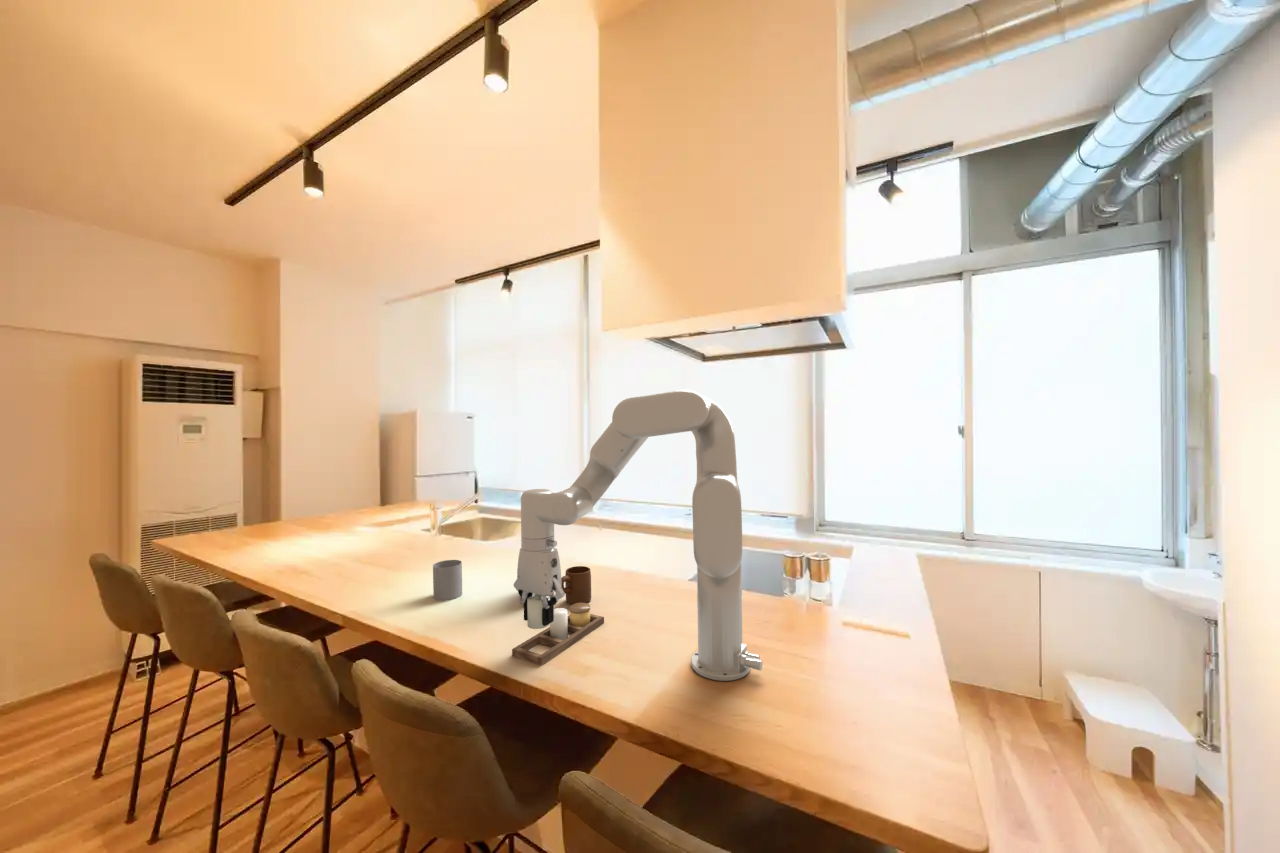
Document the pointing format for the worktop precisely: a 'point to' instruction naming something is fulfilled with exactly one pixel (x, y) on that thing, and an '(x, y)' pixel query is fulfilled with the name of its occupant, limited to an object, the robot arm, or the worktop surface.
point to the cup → (447, 580)
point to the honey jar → (580, 614)
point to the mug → (577, 585)
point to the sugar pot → (535, 611)
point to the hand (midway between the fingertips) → (538, 620)
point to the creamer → (559, 624)
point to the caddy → (554, 641)
